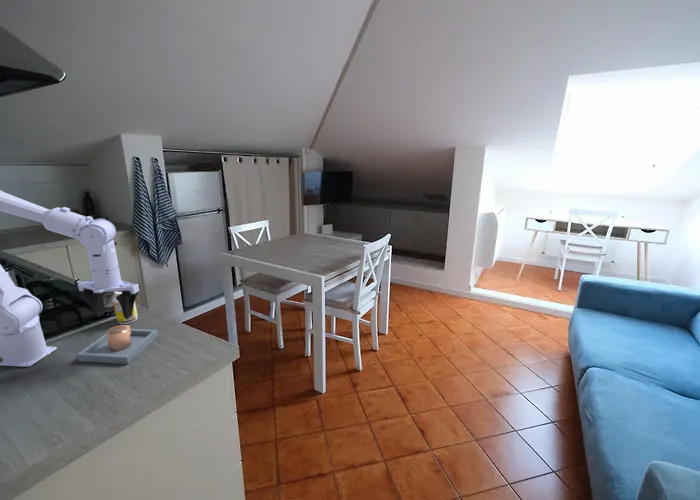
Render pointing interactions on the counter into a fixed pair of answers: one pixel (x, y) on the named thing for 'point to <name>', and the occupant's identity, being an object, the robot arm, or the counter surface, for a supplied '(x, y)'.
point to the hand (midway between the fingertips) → (114, 315)
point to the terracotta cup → (119, 338)
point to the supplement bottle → (120, 313)
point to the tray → (104, 355)
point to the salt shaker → (109, 301)
